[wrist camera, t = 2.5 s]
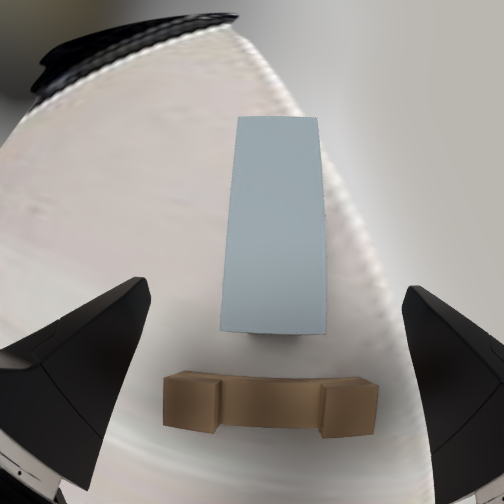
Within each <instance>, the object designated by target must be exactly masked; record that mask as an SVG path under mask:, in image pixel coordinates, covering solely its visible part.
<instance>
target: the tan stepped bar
mask: <svg viewBox="0 0 504 504" xmlns="http://www.w3.org/2000/svg"><path fill="white" fill-rule="evenodd" d="M378 388H379V386H378V385H376V384H373V383H371V382H369V381H367V380H365V379H362V378H360V377H352V378H323V379H289V378H260V377H243V376H230V375H218V374H209V373H200V372H191V371H183V372H180V373H177V374H174V375H171V376H168V377H165V378H164V388H163V425H165V426H170V427H175V428H180V429H186V430H192V431H198V432H205V433H212V434H214V432H215V431H216V429H217V428H218V426H219V425H220V424H226V425H236V426H248V427H265V428H318V430H319V432H320V434H321V436H322V438H338V437H351V436H362V435H371V434H373V433H374V426H375V418H376V409H377V399H378Z"/></svg>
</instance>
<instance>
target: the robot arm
mask: <svg viewBox="0 0 504 504" xmlns="http://www.w3.org/2000/svg"><path fill="white" fill-rule="evenodd" d="M150 304H151V295H150V291H149V287H148V283H147V280H146V279H145V278H144V277H133V278H131V279H129V280H127V281H126V282H124V283H122V284H120V285H118V286H116V287H115V288H113V289H111V290H109V291H107V292H106V293H104V294H102V295H100V296H98V297H97V298H95V299H93V300H91V301H89V302H88V303H86V304H84V305H82V306H81V307H79V308H77V309H75V310H74V311H72V312H70V313H68V314H67V315H65V316H63V317H61V318H60V320H59V319H58V320H56V321H54V322H53V323H51V324H49V325H47V326H46V327H44V328H42V329H40V330H38V331H37V332H35V333H33V334H31V335H29V336H27V337H25V338H23V339H21V340H19V341H17V342H15V343H13V344H11V345H9V346H7V347H5V348H3V349H0V504H67V503H66V501H65V499H64V496H63V494H62V491H61V489H60V488H59V485H60V482H61V480H62V479H64V480H66V481H67V482H69V483H71V484H73V485H75V486H77V487H79V488H81V489H83V490H86V491H88V489H89V487H90V483H91V479H92V476H93V472H94V469H95V465H96V462H97V459H98V455H99V452H100V449H101V446H102V442H103V439H104V436H105V433H106V429H107V426H108V423H109V421H110V418H111V415H112V412H113V409H114V406H115V403H116V400H117V398H118V395H119V392H120V389H121V387H122V384H123V381H124V379H125V376H126V373H127V371H128V368H129V366H130V363H131V360H132V358H133V355H134V353H135V350H136V348H137V345H138V343H139V340H140V337H141V334H142V331H143V328H144V324H145V321H146V317H147V314H148V310H149V307H150ZM402 315H403V320H404V325H405V331H406V336H407V342H408V347H409V351H410V355H411V359H412V363H413V366H414V370H415V374H416V378H417V383H418V387H419V391H420V396H421V400H422V405H423V410H424V415H425V421H426V426H427V432H428V438H429V445H430V452H431V461H432V469H433V479H434V491H435V504H454V503H456V502H459V501H461V500H463V499H466V498H468V497H470V496H472V495H475V497H476V503H477V504H504V345H503V344H502V343H500V342H499V341H498V340H496V339H495V338H494V337H492V336H491V335H489V334H488V333H487V332H486V331H484V330H483V329H482V328H480V327H479V326H477V325H476V324H475V323H473V322H472V321H471V320H469V319H468V318H466V317H465V316H464V315H462V314H461V313H459V312H458V311H456V310H455V309H454V308H452V307H451V306H449V305H448V304H446V303H445V302H443V301H442V300H440V299H439V298H438V297H436V296H435V295H433V294H431V293H430V292H429V291H427V290H425V289H424V288H423V287H421V286H409V287H408V289H407V292H406V295H405V298H404V301H403V304H402Z"/></svg>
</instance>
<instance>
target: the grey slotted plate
mask: <svg viewBox="0 0 504 504" xmlns="http://www.w3.org/2000/svg"><path fill="white" fill-rule="evenodd" d="M326 303H327V272H326V230H325V208H324V191H323V176H322V163H321V152H320V141H319V131H318V122H317V118H311V117H284V116H251V117H238V124H237V133H236V142H235V152H234V162H233V172H232V182H231V193H230V204H229V215H228V227H227V239H226V251H225V264H224V278H223V292H222V307H221V322H220V331H228V332H238V333H251V334H276V335H320V334H326Z"/></svg>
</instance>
